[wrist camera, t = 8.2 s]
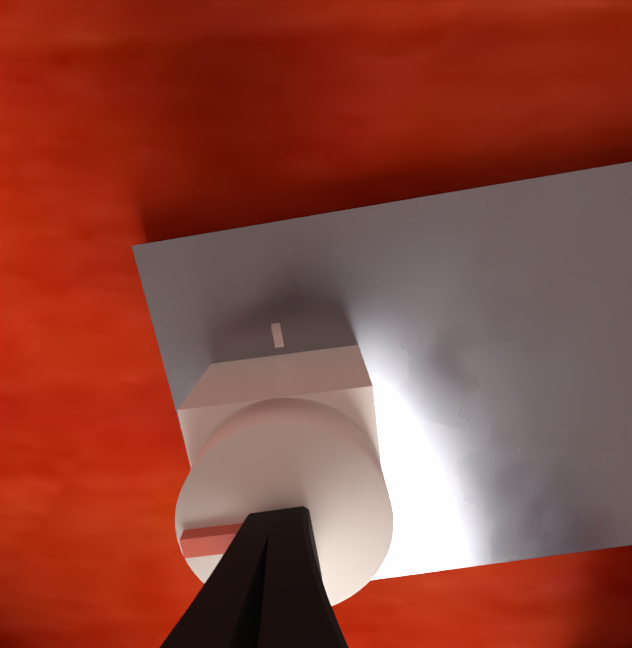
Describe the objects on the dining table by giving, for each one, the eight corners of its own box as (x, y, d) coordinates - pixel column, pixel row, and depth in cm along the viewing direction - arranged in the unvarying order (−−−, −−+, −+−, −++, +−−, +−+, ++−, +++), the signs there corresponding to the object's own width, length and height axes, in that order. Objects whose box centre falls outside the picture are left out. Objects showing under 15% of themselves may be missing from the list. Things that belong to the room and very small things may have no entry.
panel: (662, 515, 17) (783, 616, 12) (232, 573, 17) (205, 688, 13) (682, 153, 13) (857, 120, 9) (147, 243, 14) (72, 253, 10)
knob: (358, 344, 14) (385, 421, 8) (373, 475, 15) (404, 614, 10) (211, 363, 14) (146, 451, 8) (237, 490, 15) (195, 636, 10)
